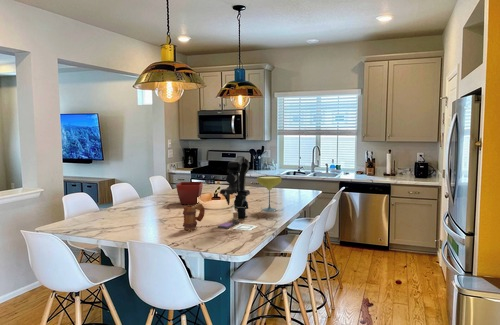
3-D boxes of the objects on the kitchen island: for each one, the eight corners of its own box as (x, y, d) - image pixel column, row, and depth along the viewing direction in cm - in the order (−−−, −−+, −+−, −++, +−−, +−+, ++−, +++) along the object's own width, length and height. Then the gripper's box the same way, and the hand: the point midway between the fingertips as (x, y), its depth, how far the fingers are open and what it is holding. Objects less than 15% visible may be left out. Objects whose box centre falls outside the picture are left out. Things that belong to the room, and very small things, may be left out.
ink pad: (225, 224, 235) (225, 222, 235) (234, 225, 232) (234, 223, 232) (217, 227, 226) (217, 225, 225) (227, 228, 223) (227, 226, 223)
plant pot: (200, 205, 297) (199, 184, 296) (176, 205, 297) (175, 185, 296) (203, 201, 316) (203, 181, 315) (181, 201, 316) (180, 182, 315)
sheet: (240, 224, 233) (240, 223, 233) (258, 226, 229) (258, 225, 229) (232, 228, 223) (232, 228, 223) (250, 230, 218) (250, 230, 218)
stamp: (234, 222, 239) (234, 211, 238) (240, 223, 237) (240, 212, 237) (231, 224, 235) (230, 213, 234) (237, 224, 233) (237, 213, 233)
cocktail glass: (268, 213, 264) (268, 179, 262) (252, 209, 278) (252, 176, 276) (286, 210, 275) (286, 176, 274) (270, 206, 289) (269, 174, 287)
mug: (185, 232, 217) (185, 206, 216) (179, 229, 223) (179, 204, 222) (207, 228, 225) (207, 203, 224) (201, 225, 232) (200, 201, 231)
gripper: (215, 182, 230) (215, 206, 232) (242, 183, 222) (242, 209, 224) (224, 179, 240) (224, 203, 242) (249, 181, 233) (250, 205, 234)
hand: (235, 205), depth 235 cm, fingers open, 9 cm apart
